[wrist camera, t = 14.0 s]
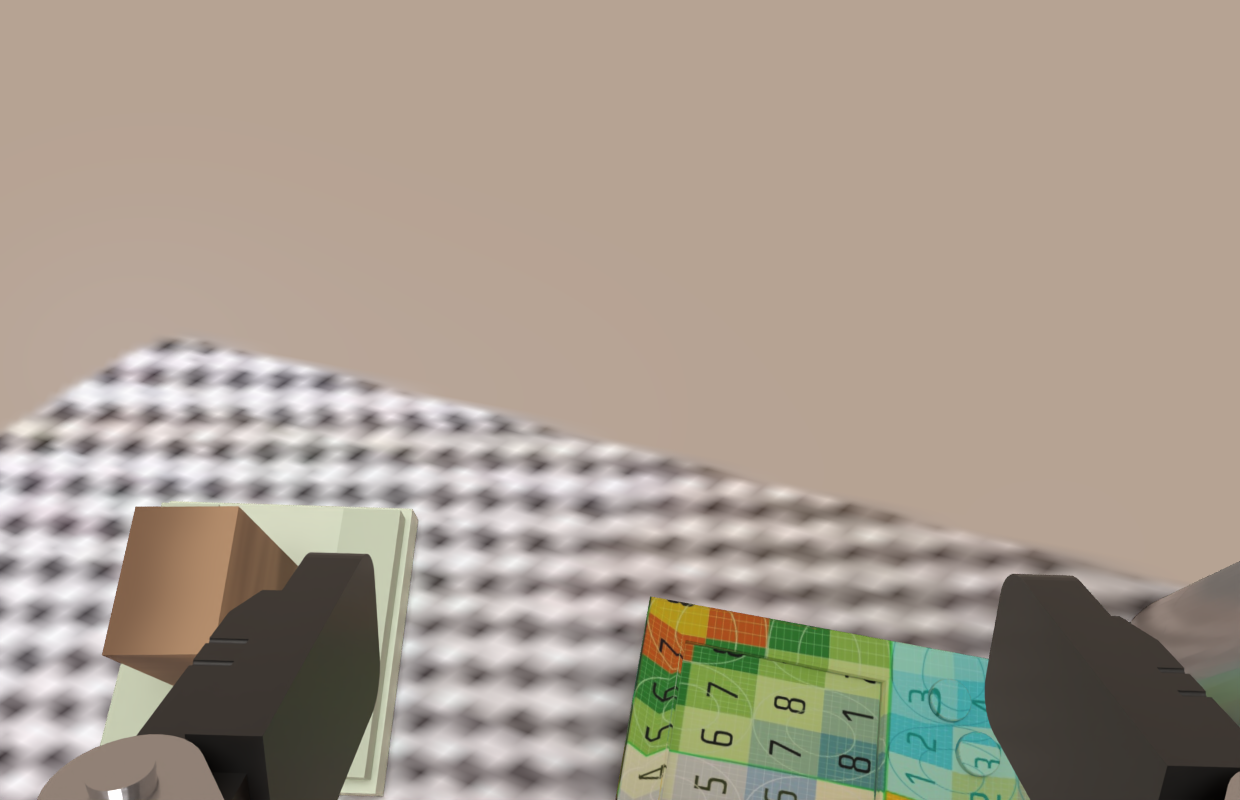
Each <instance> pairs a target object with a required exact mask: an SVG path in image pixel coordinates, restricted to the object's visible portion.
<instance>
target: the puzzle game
mask: <svg viewBox="0 0 1240 800" xmlns="http://www.w3.org/2000/svg"><path fill="white" fill-rule="evenodd" d="M988 661H989V659H986V658H981V657H975V656H970V655H964V654H959V653H954V652H948V651H943V650H937V649H932V648H927V647H921V646H916V645H910V644H905V643H900V642H894V641H889V640H883V639H878V638H872V637H867V636H862V635H856V634H851V633H845V632H840V631H835V630H829V629H824V628H818V627H813V626H807V625H802V624H797V623H791V622H786V621H780V620H775V619H770V618H764V617H759V616H753V615H748V614H743V613H737V612H732V611H726V610H721V609H715V608H710V607H705V606H699V605H694V604H688V603H683V602H678V601H672V600H667V599H661V598H656V597H650V600H649V606H648V612H647V618H646V623H645V629H644V635H643V641H642V647H641V653H640V659H639V665H638V671H637V676H636V682H635V688H634V694H633V700H632V706H631V712H630V718H629V723H628V729H627V735H626V741H625V747H624V753H623V759H622V765H621V771H620V776H619V782H618V788H617V794H616V800H1030V798H1029V797H1028V795H1027V793H1026V791H1025V789H1024V788H1023V786H1022V784H1021V782H1020V780H1019V779H1018V777H1017V775H1016V773H1015V771H1014V770H1013V768H1012V766H1011V764H1010V762H1009V760H1008V759H1007V757H1006V755H1005V753H1004V751H1003V750H1002V748H1001V746H1000V744H999V742H998V741H997V739H996V737H995V735H994V733H993V731H992V729H991V726H990V724H989V720H988V717H987V712H986V705H985V678H986V672H987V666H988Z"/></svg>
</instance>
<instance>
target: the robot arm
mask: <svg viewBox="0 0 1240 800" xmlns="http://www.w3.org/2000/svg"><path fill="white" fill-rule="evenodd" d="M379 678H380V651H379V636H378V620H377V604H376V589H375V574H374V566H373V562H372V559H371V556H370V555H369V554H356V553H322V552H310V553H308V554H307V555H306V556H305V557H304V558H303V560H302V561H301V563H300V564H299V566H298V567H297V569H296V570H295V572H294V573H293V575H292V576H291V578H290V579H289V581H288V582H287V584H286V585H285V586H284V588H283V589H282V590H262V591H260V592H258V593H257V594H255V595H254V596H252V597H251V598H249V599H248V600H246V601H245V602H243V603H242V604H240V605H239V606H237V607H236V608H234V609H232V610H231V611H229V612H228V614H227V615H226V616H225V618H224V619H223V620H222V622H221V623H220V624H219V626H218V627H217V628H216V630H215V631H214V632H213V634H212V635H211V636H210V638H209V643H205V644H204V646H203V647H202V648H201V650H200V651H199V652H198V654H197V655H196V656H195V658H194V659H193V665H189V666H188V667H187V669H186V670H185V671H184V673H183V674H182V675H181V677H180V678H179V679H178V681H177V682H176V683H175V685H174V686H173V687H172V689H171V690H170V691H169V693H168V694H167V695H166V697H165V698H164V699H163V701H162V702H161V703H160V705H159V706H158V707H157V709H156V710H155V711H154V713H153V714H152V715H151V717H150V718H149V719H148V721H147V722H146V723H145V725H144V726H143V727H142V729H141V730H140V731H139V733H138V734H137V735H136V736H133V737H128V738H123V739H119V740H116V741H112V742H109V743H106V744H104V745H101V746H99V747H96V748H94V749H92V750H90V751H88V752H86V753H84V754H82V755H80V756H79V757H77V758H75V759H74V760H72V761H70V762H69V763H68V764H66V765H65V766H64V767H63V768H61V769H60V770H59V771H58V772H57V773H56V774H55V775H54V776H53V777H52V778H51V779H50V780H49V781H48V782H47V783H46V785H45V786H44V787H43V789H42V791H41V793H40V795H39V796H38V799H37V800H338V797H339V795H340V792H341V790H342V787H343V785H344V782H345V780H346V777H347V775H348V772H349V770H350V767H351V765H352V763H353V760H354V758H355V755H356V753H357V750H358V748H359V745H360V743H361V740H362V738H363V735H364V733H365V730H366V728H367V725H368V723H369V720H370V718H371V716H372V713H373V710H374V707H375V703H376V699H377V694H378V687H379ZM985 705H986V712H987V717H988V720H989V724H990V726H991V729H992V731H993V733H994V735H995V737H996V739H997V741H998V742H999V744H1000V746H1001V748H1002V750H1003V751H1004V753H1005V755H1006V757H1007V759H1008V760H1009V762H1010V764H1011V766H1012V768H1013V770H1014V771H1015V773H1016V775H1017V777H1018V779H1019V780H1020V782H1021V784H1022V786H1023V788H1024V789H1025V791H1026V793H1027V795H1028V797H1029V798H1030V800H1240V561H1239V562H1237V563H1235V564H1233V565H1231V566H1229V567H1226V568H1225V569H1222V570H1220V571H1219V572H1216V573H1214V574H1212V575H1210V576H1207V577H1205V578H1203V579H1201V580H1199V581H1197V582H1195V583H1193V584H1191V585H1189V586H1187V587H1185V588H1182V589H1180V590H1178V591H1176V592H1174V593H1172V594H1170V595H1168V596H1166V597H1164V598H1162V599H1160V600H1158V601H1156V602H1154V603H1152V604H1150V605H1149V606H1148V607H1146V608H1145V609H1144V610H1143V611H1141V612H1140V613H1139V614H1138V615H1136V616H1135V618H1134V619H1133V621H1132V622H1131V623H1129V622H1128V621H1126V620H1125V619H1123V618H1121V617H1120V616H1110V614H1109V613H1108V612H1107V611H1106V610H1105V609H1104V608H1103V607H1102V605H1101V604H1100V603H1099V602H1098V601H1097V600H1096V599H1095V598H1094V596H1093V595H1092V594H1091V593H1090V592H1089V591H1088V590H1087V589H1086V587H1085V586H1084V585H1083V584H1082V583H1081V582H1080V581H1079V580H1078V579H1077V578H1076V577H1074V576H1066V575H1032V574H1011V575H1010V576H1008V577H1007V578H1006V580H1005V582H1004V584H1003V586H1002V589H1001V594H1000V599H999V605H998V610H997V616H996V622H995V627H994V633H993V638H992V644H991V650H990V655H989V661H988V666H987V672H986V678H985Z"/></svg>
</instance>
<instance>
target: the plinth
mask: <svg viewBox="0 0 1240 800" xmlns="http://www.w3.org/2000/svg"><path fill="white" fill-rule="evenodd" d="M185 506H239V507H240V508H241V509H242V510H243V511H244V512H245V513H246V514H247V515H248V516H249V517H250V518H251V519H252V520H253V521H254V522H255V523H256V524H257V525H258V526H259V527H260V528H261V529H262V530H263V531H264V532H265V533H266V534H267V535H268V536H269V537H270V538H271V539H272V540H273V541H274V542H275V543H276V544H277V545H278V546H279V547H280V548H281V549H282V550H283V551H284V552H285V553H286V554H287V555H288V556H289V557H290V558H291V559H292V560H293V561H294V562H295V563H296V564H297V565H298V566H299V564H300V563H301V561H302V560H303V558H304V557H305V556H306V555H307V554H308V553H310V552H322V553H356V554H369V555H370V556H371V559H372V562H373V566H374V574H375V589H376V604H377V620H378V636H379V651H380V678H379V687H378V694H377V699H376V703H375V707H374V710H373V713H372V716H371V718H370V720H369V723H368V725H367V728H366V730H365V733H364V735H363V738H362V740H361V743H360V745H359V748H358V750H357V753H356V755H355V758H354V760H353V763H352V765H351V767H350V770H349V772H348V775H347V777H346V780H345V782H344V785H343V787H342V790H341V792H340V795H353V796H383V792H384V785H385V777H386V769H387V761H388V753H389V745H390V737H391V729H392V721H393V713H394V706H395V698H396V690H397V682H398V674H399V666H400V658H401V650H402V642H403V635H404V627H405V619H406V611H407V603H408V595H409V587H410V579H411V571H412V564H413V556H414V548H415V540H416V532H417V524H418V519H417V517H416V515H415V513H414V511H413V509H400V508H368V507H336V506H304V505H272V504H240V503H208V502H176V501H170V503H162V505H161V507H185ZM172 687H173V686H172V685H170V684H168V683H166V682H163V681H161V680H159V679H156V678H154V677H152V676H149V675H147V674H145V673H142V672H140V671H138V670H135V669H133V668H131V667H128V666H126V665H124V664H121V665H120V669H119V673H118V677H117V681H116V685H115V689H114V693H113V697H112V701H111V705H110V709H109V712H108V716H107V720H106V724H105V728H104V732H103V736H102V740H101V744H100V746H101V745H104V744H106V743H109V742H112V741H116V740H119V739H123V738H128V737H133V736H136V735H137V734H138V733H139V731H140V730H141V729H142V727H143V726H144V725H145V723H146V722H147V721H148V719H149V718H150V717H151V715H152V714H153V713H154V711H155V710H156V709H157V707H158V706H159V705H160V703H161V702H162V701H163V699H164V698H165V697H166V695H167V694H168V693H169V691H170V690H171V689H172Z"/></svg>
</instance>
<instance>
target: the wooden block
mask: <svg viewBox="0 0 1240 800" xmlns="http://www.w3.org/2000/svg"><path fill="white" fill-rule="evenodd" d="M297 567H298V565H297V564H296V563H295V562H294V561H293V560H292V559H291V558H290V557H289V556H288V555H287V554H286V553H285V552H284V551H283V550H282V549H281V548H280V547H279V546H278V545H277V544H276V543H275V542H274V541H273V540H272V539H271V538H270V537H269V536H268V535H267V534H266V533H265V532H264V531H263V530H262V529H261V528H260V527H259V526H258V525H257V524H256V523H255V522H254V521H253V520H252V519H251V518H250V517H249V516H248V515H247V514H246V513H245V512H244V511H243V510H242V509H241V508H240V507H239V506H185V507H135V512H134V516H133V521H132V525H131V529H130V534H129V538H128V543H127V547H126V551H125V556H124V560H123V565H122V569H121V573H120V578H119V582H118V587H117V591H116V596H115V600H114V604H113V609H112V613H111V618H110V622H109V626H108V631H107V635H106V640H105V644H104V648H103V653H102V655H103V656H105V657H108V658H110V659H112V660H115V661H117V662H119V663H121V664H124V665H126V666H128V667H131V668H133V669H135V670H138V671H140V672H142V673H145V674H147V675H149V676H152V677H154V678H156V679H159V680H161V681H163V682H166V683H168V684H170V685H172V686H174V685H175V683H176V682H177V681H178V679H179V678H180V677H181V675H182V674H183V673H184V671H185V670H186V669H187V667H188V666H189V665H193V659H194V658H195V656H196V655H197V654H198V652H199V651H200V650H201V648H202V647H203V646H204V644H205V643H209V638H210V636H211V635H212V634H213V632H214V631H215V630H216V628H217V627H218V626H219V624H220V623H221V622H222V620H223V619H224V618H225V616H226V615H227V614H228V612H229V611H231V610H232V609H234V608H236V607H237V606H239V605H240V604H242V603H243V602H245V601H246V600H248V599H249V598H251V597H252V596H254V595H255V594H257V593H258V592H260V591H262V590H282V589H283V588H284V586H285V585H286V584H287V582H288V581H289V579H290V578H291V576H292V575H293V573H294V572H295V570H296V569H297Z"/></svg>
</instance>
